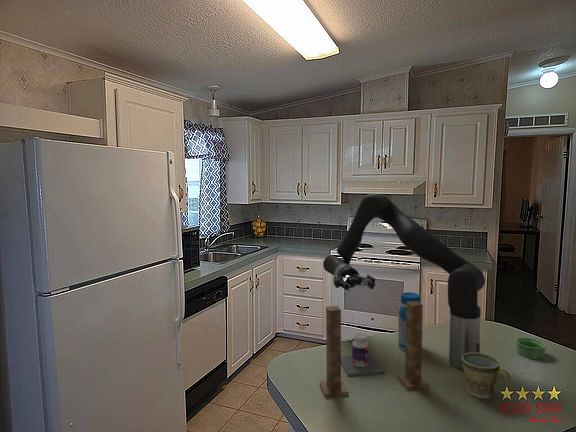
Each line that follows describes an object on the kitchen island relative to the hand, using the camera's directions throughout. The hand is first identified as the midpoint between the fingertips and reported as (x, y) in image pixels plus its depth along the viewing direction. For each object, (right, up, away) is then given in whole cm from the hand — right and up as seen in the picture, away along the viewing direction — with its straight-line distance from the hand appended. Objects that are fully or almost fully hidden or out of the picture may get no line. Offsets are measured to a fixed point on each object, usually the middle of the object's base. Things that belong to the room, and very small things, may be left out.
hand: (360, 287), depth 132 cm
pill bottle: (0, -26, -2) cm, 26 cm away
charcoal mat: (0, -26, -2) cm, 26 cm away
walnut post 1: (-11, -28, -16) cm, 34 cm away
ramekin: (+61, -25, +5) cm, 66 cm away
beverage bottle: (+21, -25, +12) cm, 35 cm away
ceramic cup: (+32, -28, -20) cm, 47 cm away
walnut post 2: (+14, -27, -13) cm, 33 cm away
